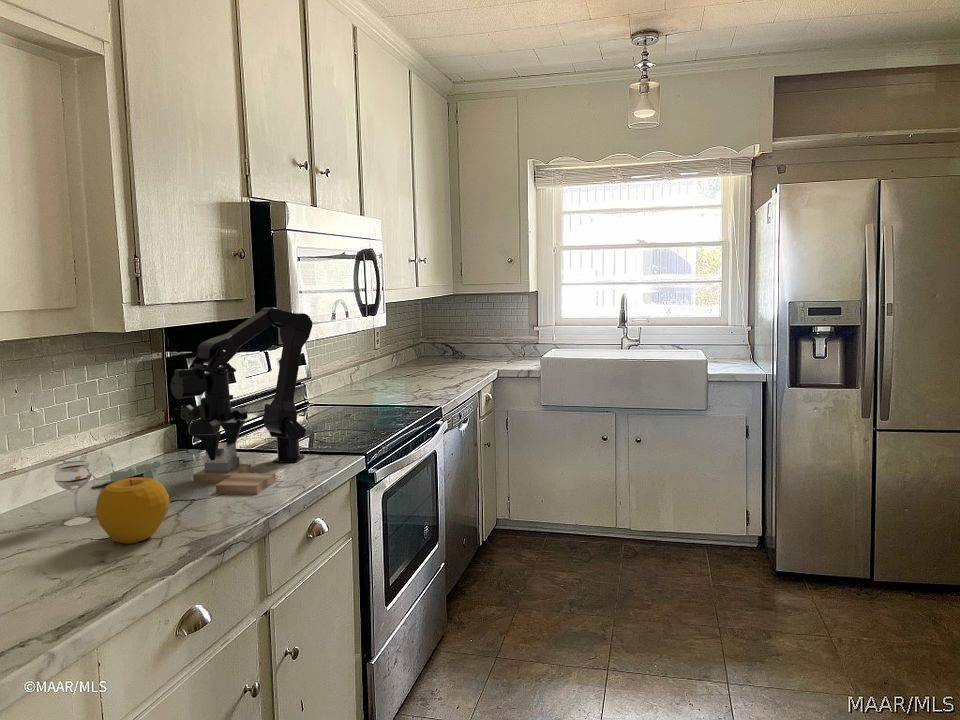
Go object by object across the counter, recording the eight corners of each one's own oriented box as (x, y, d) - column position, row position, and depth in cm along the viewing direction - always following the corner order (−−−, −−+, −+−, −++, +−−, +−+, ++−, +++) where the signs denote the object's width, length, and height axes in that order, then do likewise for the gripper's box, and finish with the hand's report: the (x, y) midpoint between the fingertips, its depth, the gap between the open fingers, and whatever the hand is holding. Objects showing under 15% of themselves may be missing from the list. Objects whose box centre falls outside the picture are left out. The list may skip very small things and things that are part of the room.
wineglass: (68, 516, 158) (63, 461, 156) (101, 515, 158) (96, 459, 156) (52, 527, 151) (46, 470, 149) (86, 526, 151) (81, 468, 150)
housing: (217, 466, 188) (215, 442, 187) (239, 466, 187) (237, 442, 186) (205, 472, 182) (203, 448, 181) (228, 472, 181) (226, 448, 180)
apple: (144, 522, 152) (139, 468, 151) (186, 532, 146) (182, 475, 144) (84, 543, 141) (78, 485, 140) (126, 555, 135) (121, 493, 133)
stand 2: (236, 481, 181) (236, 472, 181) (275, 481, 179) (275, 473, 179) (216, 493, 171) (215, 485, 171) (257, 494, 169) (256, 485, 169)
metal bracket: (175, 454, 186) (123, 470, 173) (182, 477, 186) (130, 494, 173) (139, 465, 193) (86, 481, 180) (145, 487, 193) (92, 504, 180)
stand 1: (214, 471, 190) (213, 463, 190) (251, 471, 189) (250, 464, 188) (193, 482, 180) (193, 474, 180) (232, 483, 179) (232, 475, 179)
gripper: (205, 386, 192) (210, 445, 194) (164, 399, 174) (170, 465, 176) (246, 386, 191) (250, 446, 193) (209, 399, 172) (214, 465, 174)
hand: (221, 455), depth 184 cm, fingers open, 9 cm apart
